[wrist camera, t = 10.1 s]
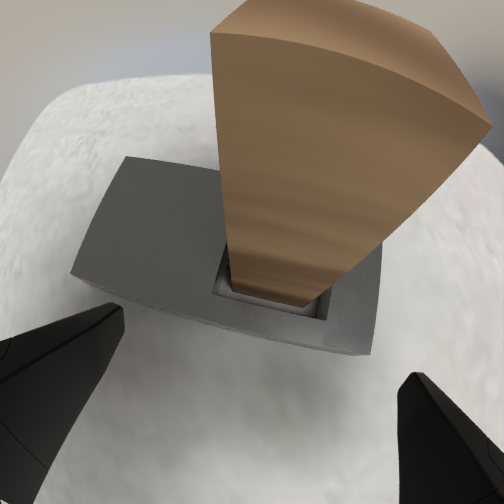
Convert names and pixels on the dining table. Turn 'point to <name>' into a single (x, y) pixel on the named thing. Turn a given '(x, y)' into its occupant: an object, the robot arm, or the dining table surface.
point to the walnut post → (329, 136)
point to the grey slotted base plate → (206, 261)
